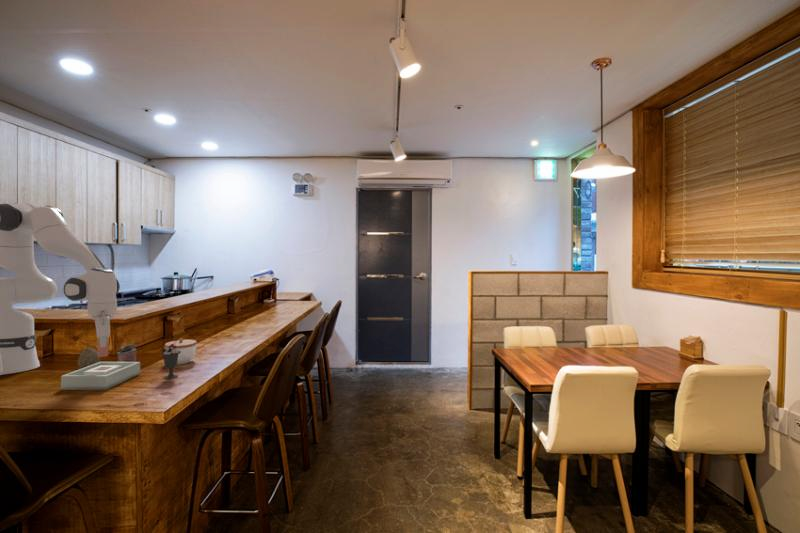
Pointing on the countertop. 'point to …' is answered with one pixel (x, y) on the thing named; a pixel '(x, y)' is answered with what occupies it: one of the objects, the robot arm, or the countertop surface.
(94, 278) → the robot arm
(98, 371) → the box
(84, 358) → the decorative egg
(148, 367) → the countertop surface
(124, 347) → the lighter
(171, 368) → the sundae
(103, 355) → the dowel
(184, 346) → the lidded bowl
